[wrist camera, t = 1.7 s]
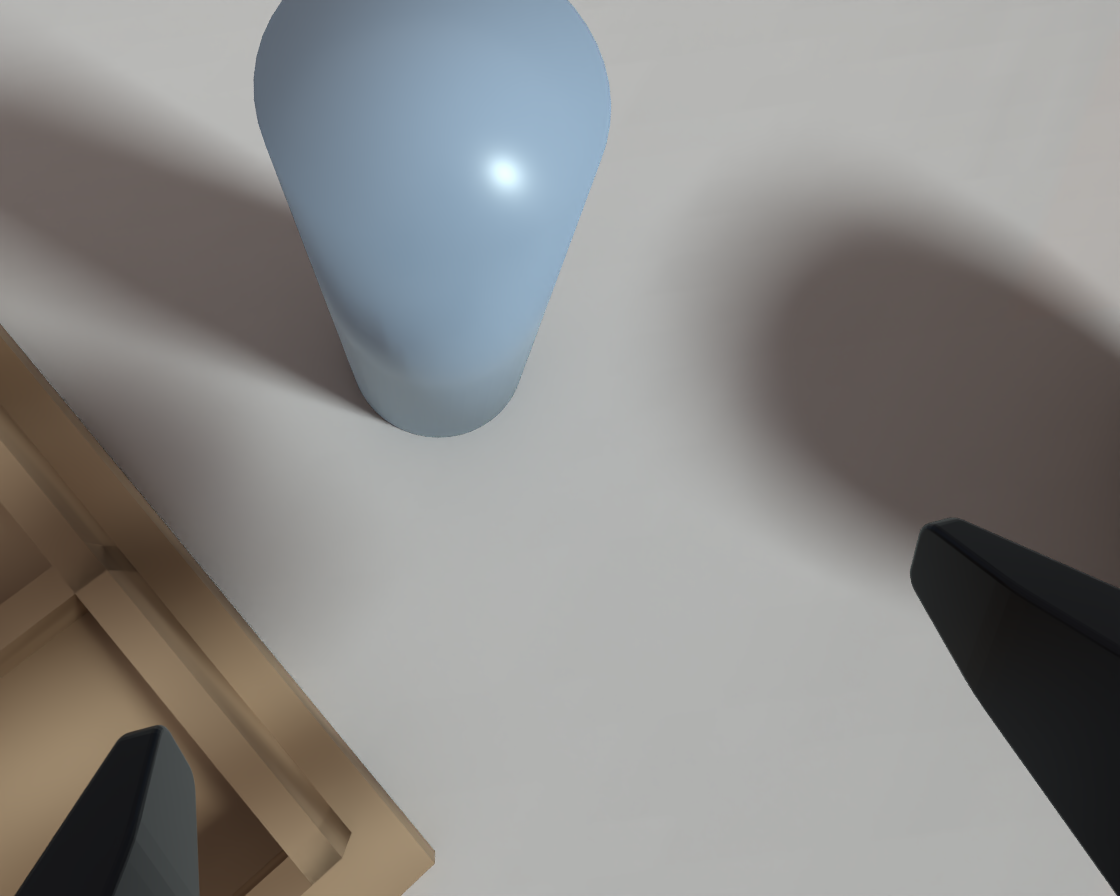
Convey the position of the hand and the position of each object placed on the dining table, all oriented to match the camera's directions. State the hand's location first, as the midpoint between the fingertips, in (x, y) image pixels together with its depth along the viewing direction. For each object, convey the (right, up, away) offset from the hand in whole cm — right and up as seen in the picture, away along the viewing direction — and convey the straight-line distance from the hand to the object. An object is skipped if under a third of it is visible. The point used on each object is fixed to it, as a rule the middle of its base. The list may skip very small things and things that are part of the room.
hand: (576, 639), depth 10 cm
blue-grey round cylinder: (-4, +5, +14) cm, 15 cm away
